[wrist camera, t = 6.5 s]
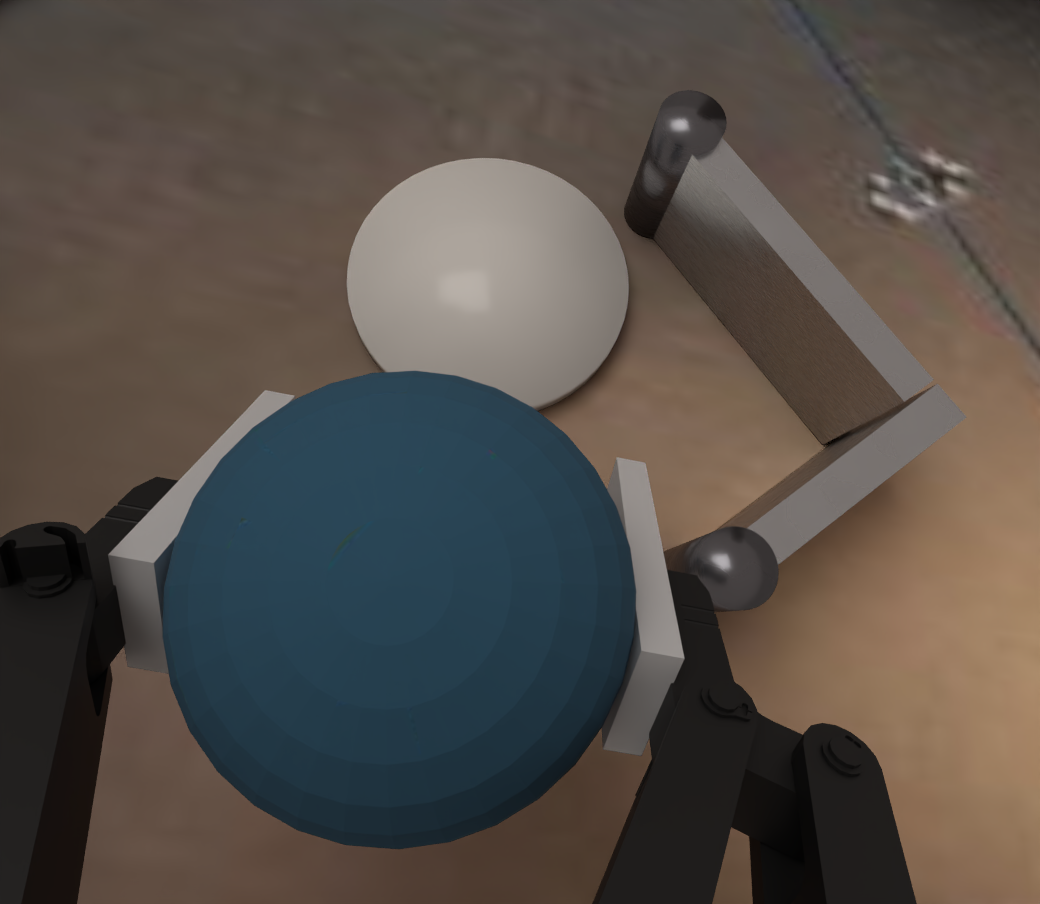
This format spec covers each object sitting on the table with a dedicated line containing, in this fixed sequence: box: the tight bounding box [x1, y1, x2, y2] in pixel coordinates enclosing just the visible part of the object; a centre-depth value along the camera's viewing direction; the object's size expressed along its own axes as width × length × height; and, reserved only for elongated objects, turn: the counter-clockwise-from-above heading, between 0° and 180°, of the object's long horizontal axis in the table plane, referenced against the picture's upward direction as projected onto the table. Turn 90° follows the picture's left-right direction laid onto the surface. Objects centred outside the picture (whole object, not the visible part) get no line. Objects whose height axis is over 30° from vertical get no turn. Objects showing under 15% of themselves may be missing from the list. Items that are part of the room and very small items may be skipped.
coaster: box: [347, 158, 629, 411], centre depth 31 cm, size 13×13×1 cm
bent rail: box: [624, 90, 966, 612], centre depth 28 cm, size 18×13×6 cm
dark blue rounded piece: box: [162, 371, 636, 849], centre depth 14 cm, size 8×8×12 cm
